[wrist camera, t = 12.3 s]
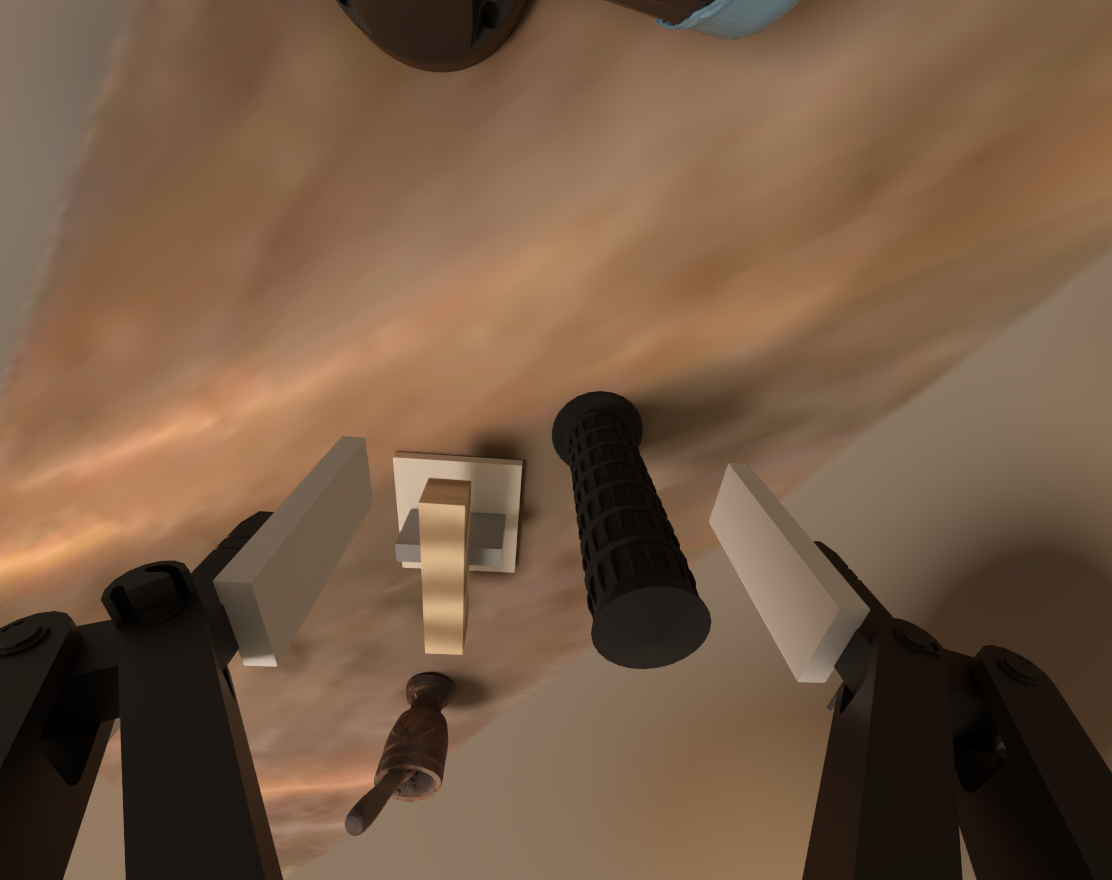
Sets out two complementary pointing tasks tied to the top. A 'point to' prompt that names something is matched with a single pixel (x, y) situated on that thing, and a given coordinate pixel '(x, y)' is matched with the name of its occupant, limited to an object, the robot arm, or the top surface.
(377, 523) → the top surface
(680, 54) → the top surface
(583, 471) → the handle grip
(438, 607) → the maple bar
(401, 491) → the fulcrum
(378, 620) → the top surface
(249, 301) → the top surface
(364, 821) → the mortar and pestle
